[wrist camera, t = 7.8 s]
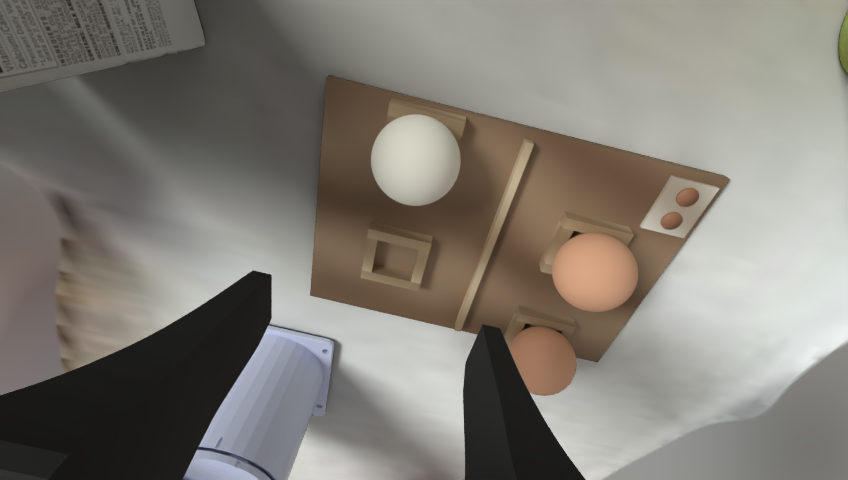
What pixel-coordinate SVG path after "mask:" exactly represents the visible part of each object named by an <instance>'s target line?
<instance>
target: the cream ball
mask: <svg viewBox="0 0 848 480" xmlns="http://www.w3.org/2000/svg"><path fill="white" fill-rule="evenodd" d="M460 163H461V159H460V151H459V147H458V144H457V141H456V139H455V137H454V136H453V134H452V133H451V131H450V130H449V129H448V128H447V127H446V126H445V125H444V124H443V123H441V122H440V121H438V120H436V119H434V118H432V117H429V116H425V115H418V114H413V115H406V116H402V117H400V118H397V119H395V120H393V121H392V122H390V123H389V124H387V125H386V126H385V127H384V128H383V129H382V131H381V132H380V133H379V134H378V136H377V138H376V140H375V142H374V145H373V148H372V152H371V167H372V172H373V175H374V178H375V180H376V182H377V184H378V185H379V187H380V188H381V189H382V191H383V192H384V193H385V194H386V195H388V196H389V197H390V198H392V199H393V200H395V201H397V202H399V203H402V204H405V205H410V206H421V205H427V204H430V203H433V202H435V201H437V200H439V199H440V198H442V197H443V196H444V195H445V194H447V192H448V191H449V190H450V189H451V188H452V186H453V185H454V183H455V181H456V179H457V177H458V174H459V170H460Z"/></svg>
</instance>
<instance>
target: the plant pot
mask: <svg viewBox="0 0 848 480" xmlns="http://www.w3.org/2000/svg"><path fill="white" fill-rule="evenodd" d="M839 56H840V61H841V64H842V66H843V68H844V69H845V71H846V72H847V73H848V11H847V14H846V16H845V19H844V22H843V25H842V28H841V31H840V38H839Z"/></svg>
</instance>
